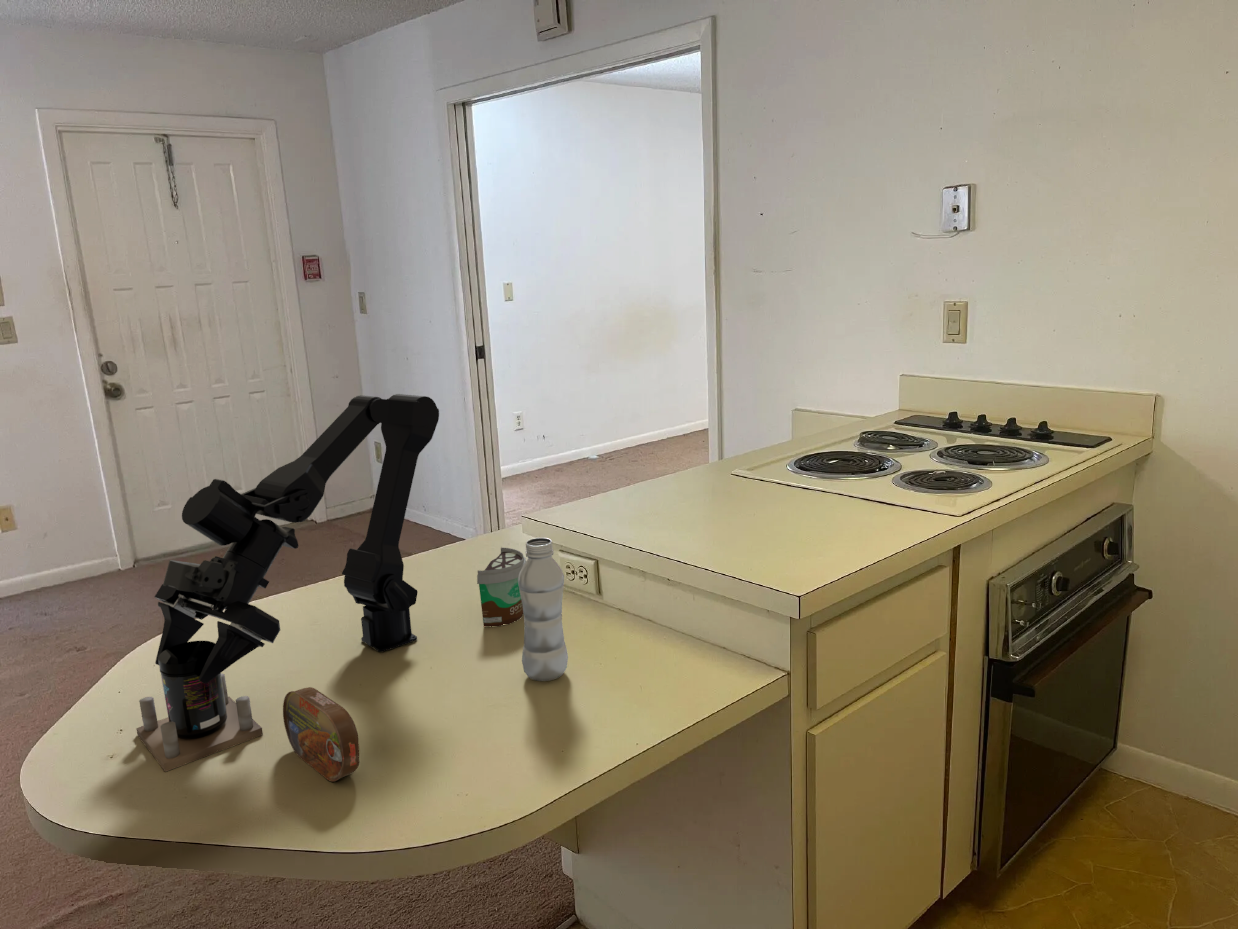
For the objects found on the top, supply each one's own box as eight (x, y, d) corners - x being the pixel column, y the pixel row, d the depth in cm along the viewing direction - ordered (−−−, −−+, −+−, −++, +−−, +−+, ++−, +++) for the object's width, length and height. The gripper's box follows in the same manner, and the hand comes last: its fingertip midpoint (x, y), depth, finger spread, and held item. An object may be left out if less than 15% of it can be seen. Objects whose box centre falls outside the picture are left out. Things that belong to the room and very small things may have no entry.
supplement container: (207, 709, 118) (196, 636, 115) (239, 722, 114) (228, 647, 112) (159, 733, 112) (146, 657, 110) (191, 747, 109) (178, 669, 106)
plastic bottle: (513, 681, 125) (505, 546, 120) (539, 661, 131) (532, 532, 126) (552, 690, 122) (545, 552, 117) (577, 670, 128) (571, 537, 123)
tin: (284, 745, 111) (276, 683, 109) (308, 735, 113) (300, 674, 111) (343, 794, 100) (335, 727, 98) (368, 782, 102) (361, 716, 100)
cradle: (230, 703, 121) (225, 669, 120) (262, 734, 113) (257, 699, 112) (137, 735, 114) (131, 699, 113) (165, 772, 105) (158, 734, 104)
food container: (517, 633, 141) (513, 573, 139) (480, 630, 142) (476, 571, 140) (539, 603, 153) (536, 547, 150) (505, 601, 154) (501, 546, 151)
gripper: (157, 522, 116) (85, 632, 109) (246, 544, 106) (172, 666, 99) (220, 561, 124) (156, 666, 117) (309, 584, 114) (244, 700, 108)
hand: (179, 673), depth 110 cm, fingers open, 9 cm apart
